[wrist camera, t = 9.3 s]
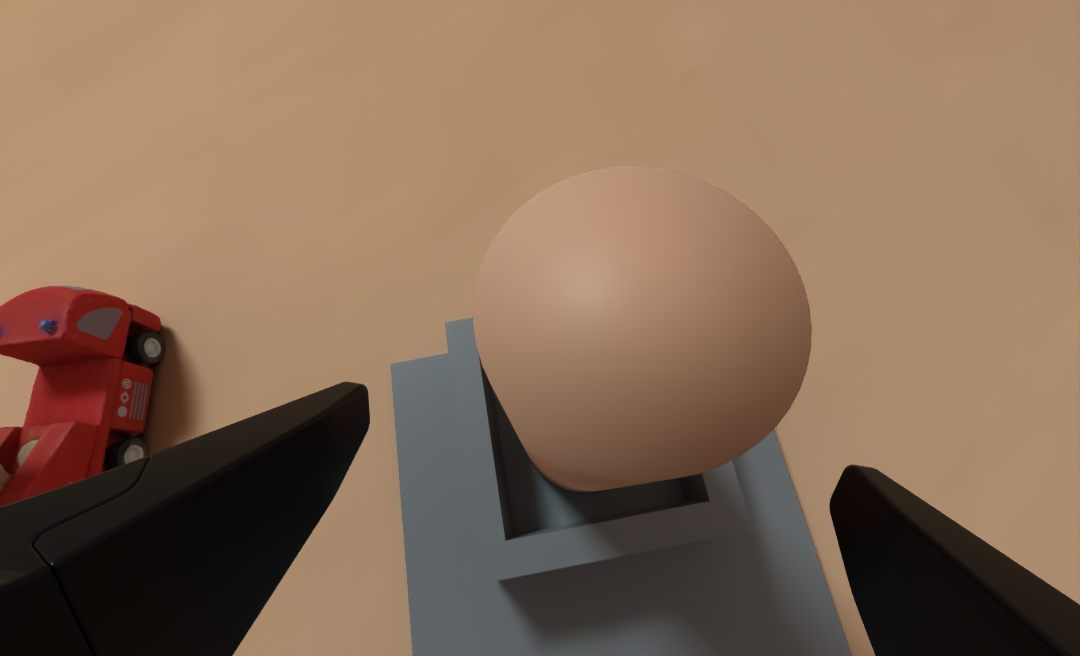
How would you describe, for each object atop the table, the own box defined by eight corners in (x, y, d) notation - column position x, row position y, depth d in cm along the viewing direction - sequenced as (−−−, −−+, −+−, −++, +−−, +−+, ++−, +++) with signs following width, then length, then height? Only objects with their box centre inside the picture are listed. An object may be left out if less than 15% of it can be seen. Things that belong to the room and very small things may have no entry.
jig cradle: (876, 771, 15) (981, 861, 11) (439, 864, 15) (398, 987, 11) (721, 308, 21) (757, 265, 17) (398, 368, 20) (361, 337, 17)
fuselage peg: (665, 432, 18) (880, 307, 6) (582, 519, 17) (652, 566, 5) (581, 351, 19) (630, 116, 7) (499, 429, 18) (404, 301, 6)
